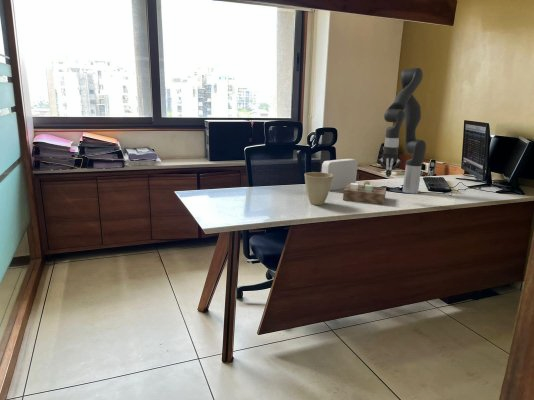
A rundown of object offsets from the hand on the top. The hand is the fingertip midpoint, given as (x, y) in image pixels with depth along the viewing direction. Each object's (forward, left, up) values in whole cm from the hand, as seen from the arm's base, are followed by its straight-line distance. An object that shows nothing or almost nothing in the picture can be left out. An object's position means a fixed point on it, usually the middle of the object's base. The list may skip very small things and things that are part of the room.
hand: (388, 176), depth 215 cm
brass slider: (+11, 0, -8) cm, 14 cm away
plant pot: (+34, +27, -14) cm, 46 cm away
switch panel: (+11, +4, -14) cm, 18 cm away
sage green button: (+9, +8, -10) cm, 16 cm away
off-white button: (+17, +8, -10) cm, 22 cm away
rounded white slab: (+30, -19, -14) cm, 38 cm away
